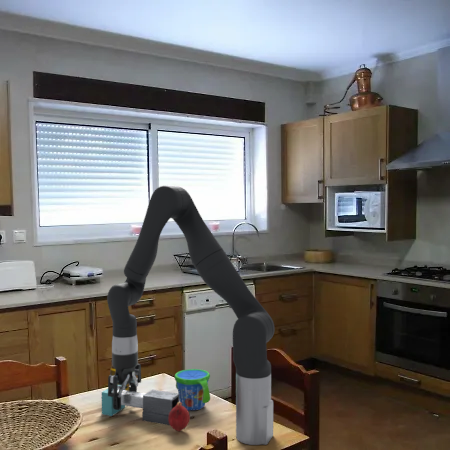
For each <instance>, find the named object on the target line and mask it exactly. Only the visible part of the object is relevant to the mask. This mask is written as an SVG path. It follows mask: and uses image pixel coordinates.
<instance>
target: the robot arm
mask: <svg viewBox="0 0 450 450" xmlns="http://www.w3.org/2000/svg"><path fill="white" fill-rule="evenodd" d="M170 219H172V220H173V221H174V222H175V224H176V225H177V227H178V228H179V229H180V231H181V232H182V234H183V236H184V239H185V241H186V244H187V249H188V250H187V251H188V254H189V258H190V261H191V263H192V264H193V265H192V266H193V267H194V268H195V270H196V271H197V273H198V274H199V276H200V278H201V279H202V280H203V282H204V283H205V284H206V286H208V288H210V289H211V290H212V291H213V292H215V294H217V295H218V296H219V297H220V298H221V299H223V300H224V302H226V303H227V305H228V306H229V307H230V308H231V310H232V311H233V313H234V314H235V316H236V318H237V319H236V321H235V322H234V324H233V329H232V357H233V363H234V366H235V396H236V397H235V437H236V439H237V441H239V442H241V443H242V444H245V445H250V446H251V445H252V446H260V445H268V444H269V442H271V439H272V438H273V437H274V400H273V399H272V364H271V362H270V361H269V360H268V356H267V355H268V351H267V344H268V342H270V341H271V339H272V338H273V336H274V334H275V323H274V320H273V318H272V317H271V316H270V314H269V313H268V311H267V310H266V309H265V308H264V307H263V305H261V303H260V302H259V300H258V299H257V298H256V297H255V296H254V294H253V293H252V291H251V290H250V289H249V287H248V286H247V284H246V283H245V281H244V280H243V278H242V276H241V275H240V273H239V271H237V268H236V267H235V265H234V264H233V263H232V261H231V259H230V257H229V256H228V255H227V253H226V251H225V250H224V248H223V247H222V245H221V244H220V243H219V242H218V240H217V238H216V237H215V236H214V234H213V232H212V231H211V230H210V227H208V226H207V224H206V223H205V221H204V219H203V218H202V215H201V214H200V212H199V210H198V207H197V206H196V204H195V202H194V200H193V198H192V197H191V195H190V193H189V192H188V191H187V190H186V189H185V188H183V187H181V186H177V185H160V186H158V187H157V188H155V190H153V193H152V194H151V196H150V198H149V201H148V206H147V208H146V211H145V216H144V219H143V222H142V225H141V228H140V231H139V234H138V237H137V241H136V243H135V245H134V247H133V250H132V251H131V253H130V255H129V257H128V260H127V262H126V264H125V266H124V269H123V275H124V276H125V277H126V279H125V280H124V282H122V283H116V284H114V285H112V286H111V287H110V288H109V289H108V292H107V298H106V301H107V305H108V310H109V314H110V317H111V318H110V319H111V321H112V341H111V361H112V362H111V364H112V366H113V367H114V368H115V370H116V372H115V375H113V376H111V375H110V374H109V375H108V376H107V389H108V396H109V397H113V408H114V409H115V410H120V409H121V394H122V391H123V390H124V389H125V386H126V385H127V384H129V391H134V392H138V387H139V384H141V383H142V365H141V363H139V351H138V350H139V346H138V344H139V341H138V328H137V327H138V326H137V323H138V322H137V321H138V320H137V317H136V316H135V315H134V314H131V313H130V309H129V307H131V306H133V305H136V304H137V303H138V302H139V301H140V300H141V298H142V296H143V294H144V290H145V285H146V282H147V281H146V280H147V277H148V275H149V273H150V271H151V269H152V267H153V265H154V264H155V261H156V258H157V254H158V249H159V248H158V246H159V242H160V241H159V240H160V237H161V234H162V231H163V229H164V228H165V227H166V224H167V223H168V222H169V220H170ZM118 384H119V385H122V386H118ZM112 389H113V391H112ZM118 389H119V392H118V393H117V390H118ZM120 411H121V410H120Z"/></svg>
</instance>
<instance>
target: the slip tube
mask: <svg viewBox="0 0 450 450" xmlns="http://www.w3.org/2000/svg"><path fill="white" fill-rule="evenodd" d="M112 391H113V390H112ZM118 392H119V389H118V390H117V393H118ZM146 393H147V392H140V391H139V392H138V391H137V392H134V391H127V390H123V391H122V394H121V405H125V407H126V406H127V407H131V408H137V409H143V395H145V394H146Z"/></svg>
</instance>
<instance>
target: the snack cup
mask: <svg viewBox="0 0 450 450" xmlns="http://www.w3.org/2000/svg"><path fill="white" fill-rule="evenodd" d="M210 378H211V374H210V373H209V371H207V370H205V369H199V368H189V369H183V370H179V371H177V372H176V373H175V374H174V380H175V388H176V390H177V393H178V394H179V402H181V403H182V404H181V405H182V406H184V407H185V408H186V409H187V410H188V412H189V411H198V410H201V409H203V408H204V407H205V406H206V404H207V403H209V402H210V401H211V393H210V390H209V381H210Z"/></svg>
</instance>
